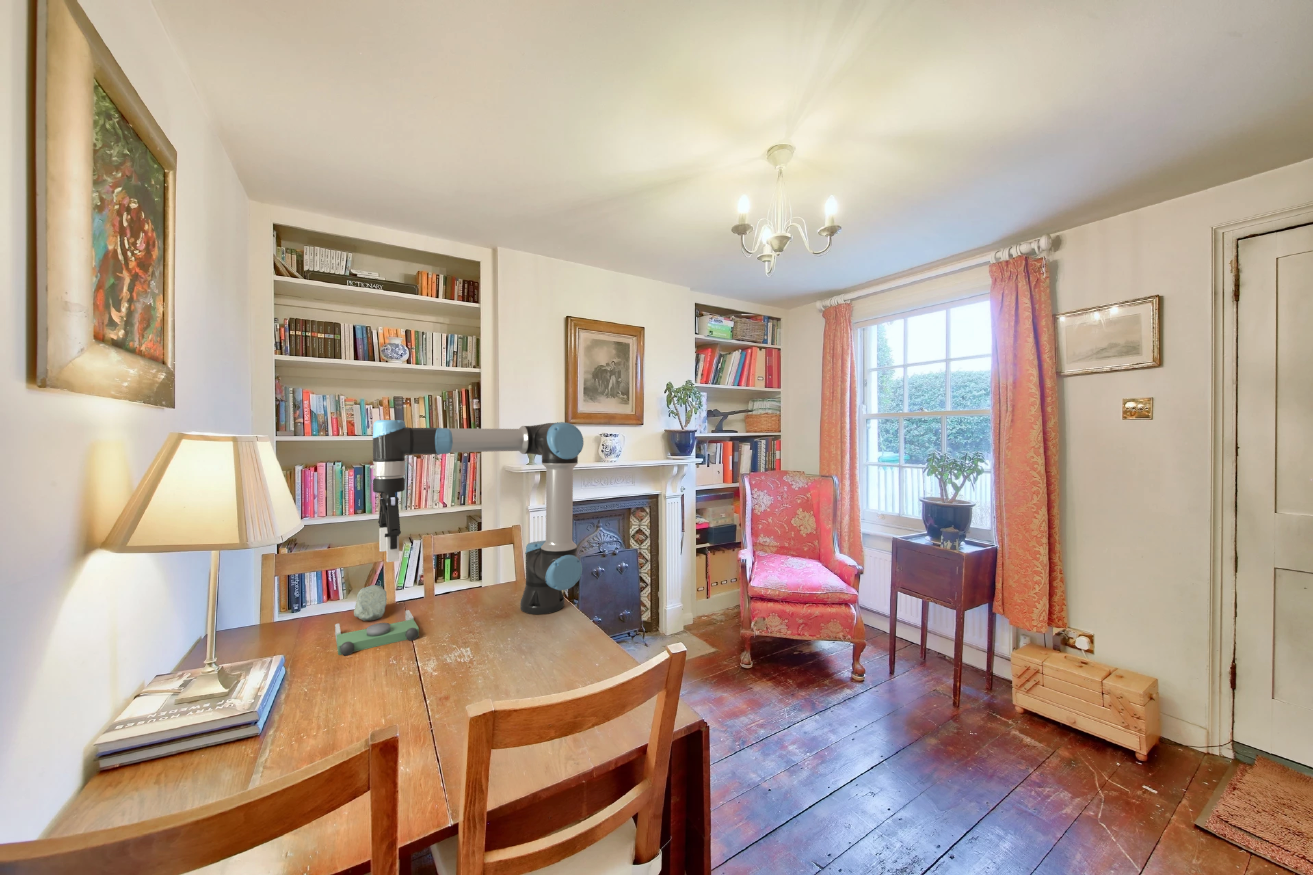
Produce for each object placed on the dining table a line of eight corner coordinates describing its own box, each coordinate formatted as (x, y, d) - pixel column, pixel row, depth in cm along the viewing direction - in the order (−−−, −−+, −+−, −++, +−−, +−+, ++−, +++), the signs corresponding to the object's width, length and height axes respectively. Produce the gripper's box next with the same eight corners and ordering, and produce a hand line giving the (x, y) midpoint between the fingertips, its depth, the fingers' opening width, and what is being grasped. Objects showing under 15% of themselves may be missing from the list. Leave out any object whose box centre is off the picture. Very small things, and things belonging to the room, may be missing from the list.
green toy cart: (408, 618, 155) (408, 606, 155) (419, 638, 140) (419, 624, 140) (335, 633, 143) (335, 620, 143) (338, 657, 128) (338, 642, 128)
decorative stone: (359, 609, 163) (345, 592, 157) (393, 594, 166) (380, 577, 160) (361, 639, 153) (346, 622, 147) (397, 623, 157) (384, 606, 151)
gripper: (367, 474, 135) (367, 548, 135) (379, 481, 115) (379, 568, 115) (397, 473, 139) (396, 545, 140) (413, 479, 120) (413, 563, 120)
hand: (388, 555), depth 127 cm, fingers open, 13 cm apart
